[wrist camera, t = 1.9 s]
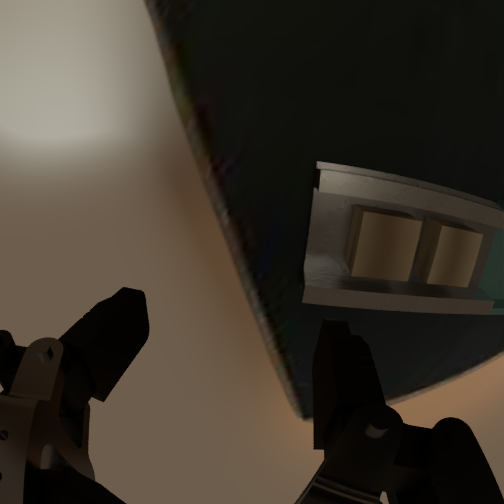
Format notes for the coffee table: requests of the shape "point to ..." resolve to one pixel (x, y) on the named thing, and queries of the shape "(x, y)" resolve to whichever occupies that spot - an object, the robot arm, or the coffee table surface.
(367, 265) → the beige square block
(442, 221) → the chip
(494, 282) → the tray
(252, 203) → the coffee table surface
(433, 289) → the slot rail
